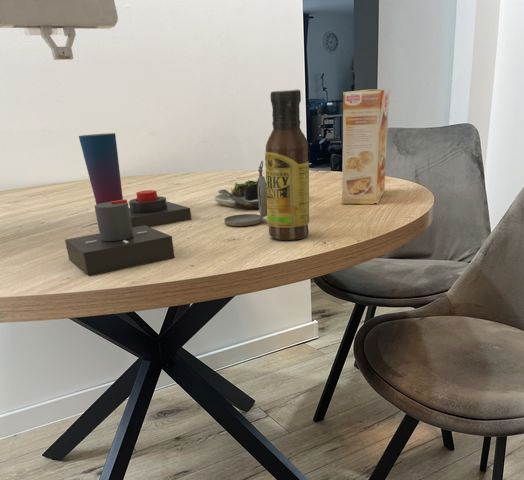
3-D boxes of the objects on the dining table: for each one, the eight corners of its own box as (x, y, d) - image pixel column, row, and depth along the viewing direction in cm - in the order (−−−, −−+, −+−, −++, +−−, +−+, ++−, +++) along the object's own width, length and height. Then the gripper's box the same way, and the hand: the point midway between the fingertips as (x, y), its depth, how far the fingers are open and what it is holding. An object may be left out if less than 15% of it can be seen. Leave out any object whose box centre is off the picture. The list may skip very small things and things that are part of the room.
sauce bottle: (260, 237, 78) (251, 92, 70) (292, 230, 81) (287, 90, 73) (286, 244, 74) (279, 89, 65) (319, 236, 77) (317, 87, 68)
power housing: (128, 231, 88) (124, 207, 86) (111, 222, 96) (107, 201, 94) (191, 220, 94) (189, 197, 92) (170, 213, 102) (167, 192, 100)
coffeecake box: (378, 204, 96) (382, 88, 88) (340, 204, 98) (341, 91, 90) (386, 191, 109) (390, 88, 100) (352, 191, 111) (354, 91, 103)
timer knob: (106, 243, 68) (99, 206, 66) (96, 237, 71) (89, 202, 69) (138, 237, 70) (132, 201, 68) (127, 232, 73) (120, 197, 71)
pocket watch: (217, 224, 89) (211, 163, 84) (254, 216, 93) (250, 158, 89) (246, 231, 83) (241, 166, 78) (284, 221, 87) (282, 159, 83)
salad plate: (191, 205, 108) (188, 182, 106) (252, 192, 119) (251, 171, 117) (253, 214, 95) (251, 188, 93) (316, 198, 106) (315, 175, 104)
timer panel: (88, 276, 65) (83, 251, 64) (69, 260, 73) (64, 238, 72) (174, 257, 71) (171, 234, 69) (148, 244, 78) (145, 224, 77)
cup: (88, 217, 102) (71, 136, 96) (105, 210, 108) (90, 134, 102) (118, 217, 101) (103, 134, 94) (134, 210, 106) (121, 132, 100)
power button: (141, 204, 91) (140, 194, 90) (135, 201, 94) (133, 192, 93) (160, 201, 93) (159, 191, 92) (153, 199, 96) (152, 189, 95)
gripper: (102, -33, 87) (117, 60, 93) (-31, -42, 77) (-4, 62, 83) (114, -43, 82) (129, 56, 88) (-27, -53, 73) (1, 58, 79)
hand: (63, 59), depth 86 cm, fingers closed
